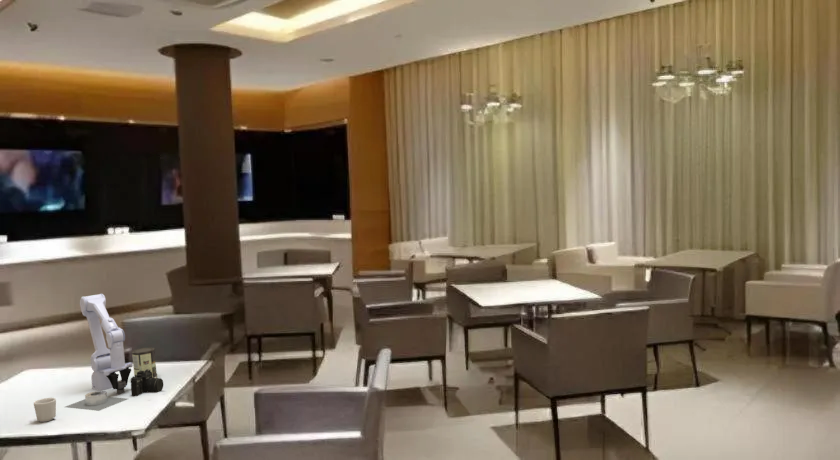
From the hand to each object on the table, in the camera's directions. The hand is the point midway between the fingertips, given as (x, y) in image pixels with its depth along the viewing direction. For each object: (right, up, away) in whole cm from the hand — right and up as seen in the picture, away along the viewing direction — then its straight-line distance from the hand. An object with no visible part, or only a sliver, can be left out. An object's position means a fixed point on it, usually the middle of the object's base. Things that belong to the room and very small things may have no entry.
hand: (120, 387), depth 317 cm
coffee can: (+2, -2, +26) cm, 26 cm away
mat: (-4, -5, -13) cm, 14 cm away
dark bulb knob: (0, -4, 0) cm, 4 cm away
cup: (-17, -7, -28) cm, 34 cm away
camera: (+13, -3, 0) cm, 13 cm away
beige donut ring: (-4, -4, -13) cm, 14 cm away
